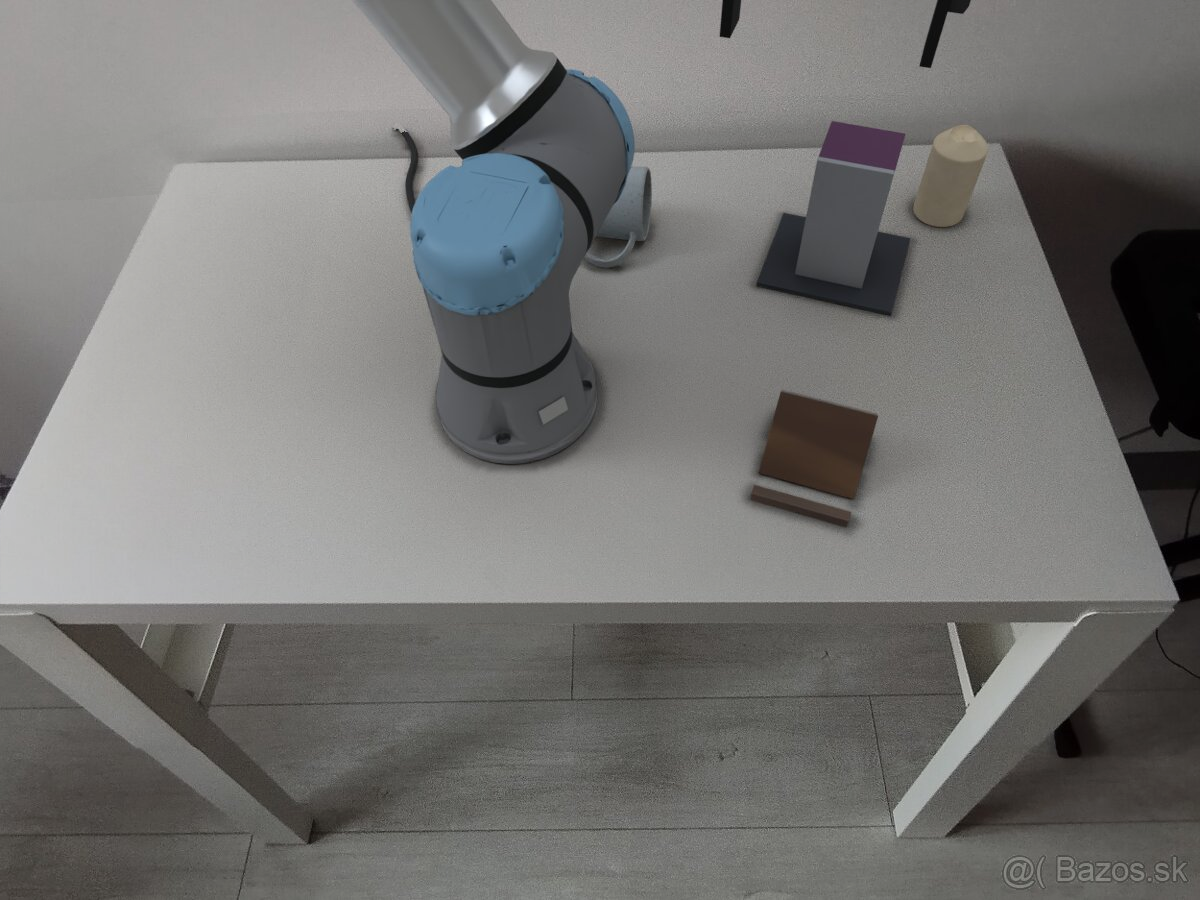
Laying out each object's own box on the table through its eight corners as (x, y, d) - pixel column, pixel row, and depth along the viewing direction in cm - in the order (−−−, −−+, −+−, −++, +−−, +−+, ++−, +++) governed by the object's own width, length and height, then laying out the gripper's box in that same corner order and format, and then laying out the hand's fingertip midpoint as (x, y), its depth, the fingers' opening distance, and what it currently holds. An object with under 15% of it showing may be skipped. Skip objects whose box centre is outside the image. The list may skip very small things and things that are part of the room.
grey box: (833, 143, 91) (830, 108, 77) (899, 155, 89) (909, 121, 75) (797, 277, 94) (788, 266, 80) (860, 291, 92) (863, 282, 78)
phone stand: (775, 424, 80) (784, 378, 74) (864, 448, 78) (881, 402, 72) (748, 506, 74) (757, 462, 69) (844, 533, 72) (860, 491, 67)
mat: (756, 285, 89) (756, 282, 89) (783, 216, 96) (783, 212, 95) (890, 315, 86) (891, 312, 85) (909, 241, 92) (910, 237, 92)
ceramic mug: (582, 205, 98) (578, 148, 92) (652, 210, 97) (653, 152, 91) (567, 269, 92) (561, 212, 86) (641, 274, 91) (641, 217, 85)
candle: (968, 227, 93) (999, 148, 85) (917, 228, 93) (943, 149, 85) (957, 196, 96) (986, 116, 88) (908, 196, 97) (932, 117, 89)
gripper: (1185, -396, 40) (1019, 40, 57) (680, -411, 46) (667, -8, 63) (1193, -356, 36) (1012, 101, 53) (638, -378, 42) (636, 43, 59)
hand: (825, 42), depth 58 cm, fingers open, 13 cm apart
